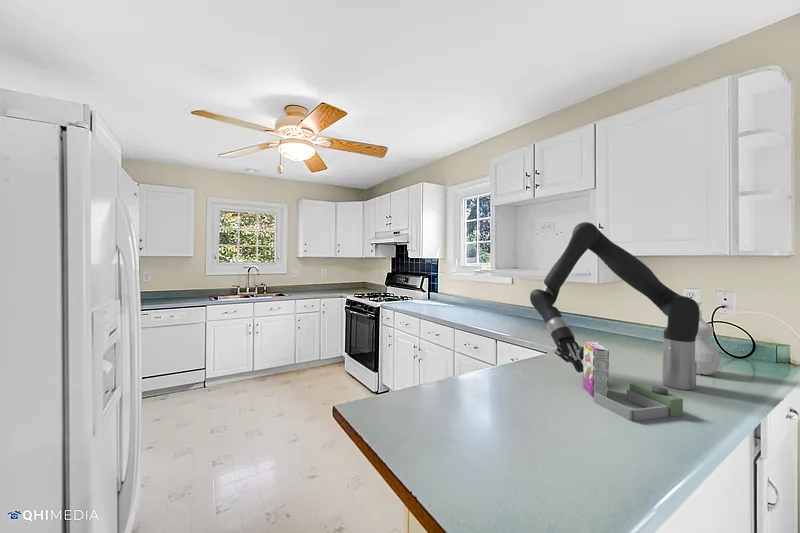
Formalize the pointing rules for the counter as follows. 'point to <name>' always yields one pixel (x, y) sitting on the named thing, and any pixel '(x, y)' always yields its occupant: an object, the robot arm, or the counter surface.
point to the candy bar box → (595, 368)
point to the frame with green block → (645, 403)
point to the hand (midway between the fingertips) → (581, 371)
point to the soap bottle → (705, 349)
